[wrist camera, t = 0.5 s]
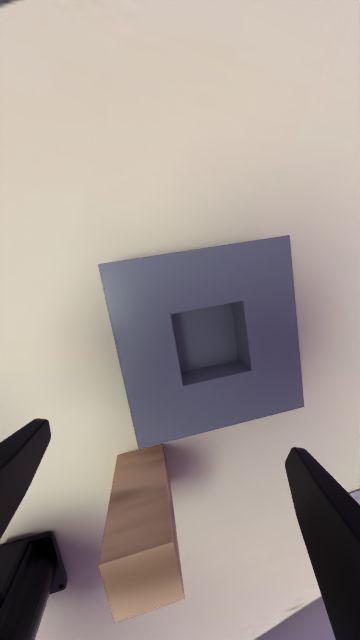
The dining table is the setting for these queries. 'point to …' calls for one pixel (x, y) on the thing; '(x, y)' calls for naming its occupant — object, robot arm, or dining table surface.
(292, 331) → the socket block
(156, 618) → the dining table surface
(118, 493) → the oak peg
